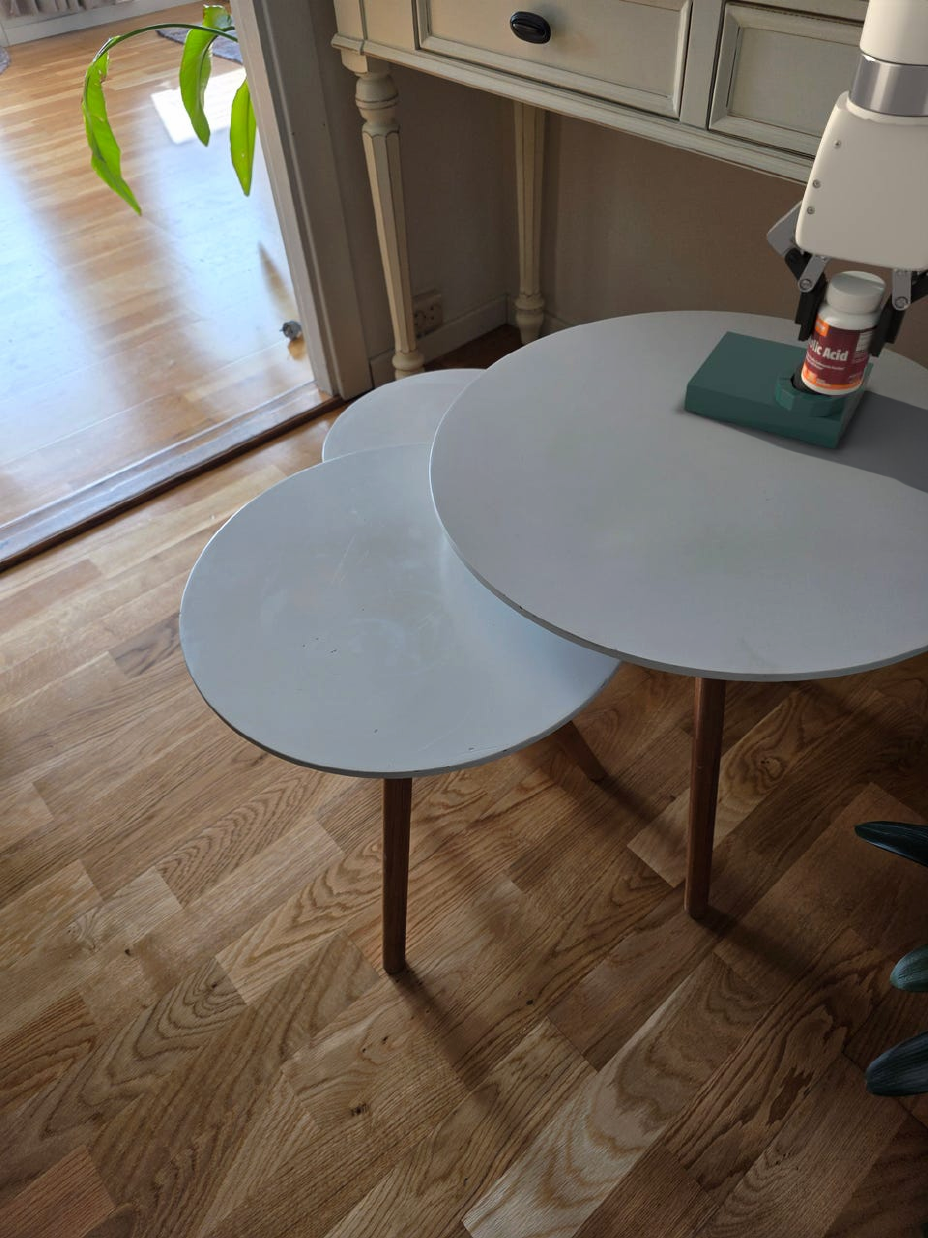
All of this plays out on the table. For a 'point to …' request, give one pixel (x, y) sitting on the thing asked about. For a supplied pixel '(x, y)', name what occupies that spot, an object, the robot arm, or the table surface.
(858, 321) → the pill bottle
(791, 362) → the teal rectangular block
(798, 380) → the dark grey push button
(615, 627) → the table surface
